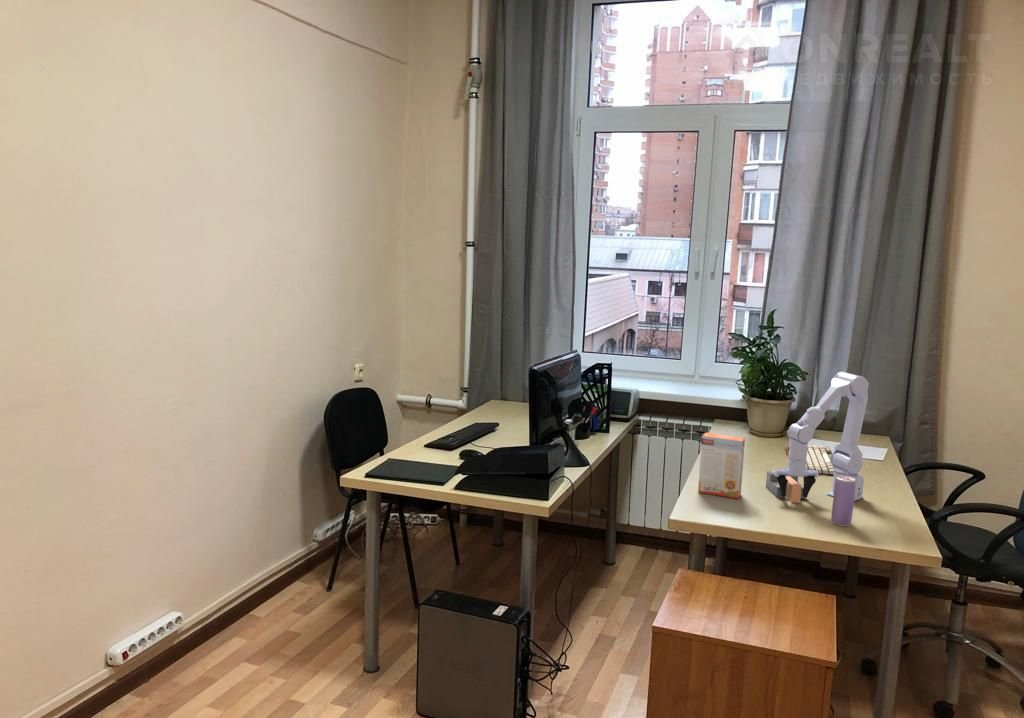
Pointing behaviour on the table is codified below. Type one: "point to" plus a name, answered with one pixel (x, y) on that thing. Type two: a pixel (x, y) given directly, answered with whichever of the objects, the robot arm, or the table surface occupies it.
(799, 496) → the salmon long block
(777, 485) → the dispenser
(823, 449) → the mechanical keyboard
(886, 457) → the table surface
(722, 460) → the cracker box
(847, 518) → the beverage can
